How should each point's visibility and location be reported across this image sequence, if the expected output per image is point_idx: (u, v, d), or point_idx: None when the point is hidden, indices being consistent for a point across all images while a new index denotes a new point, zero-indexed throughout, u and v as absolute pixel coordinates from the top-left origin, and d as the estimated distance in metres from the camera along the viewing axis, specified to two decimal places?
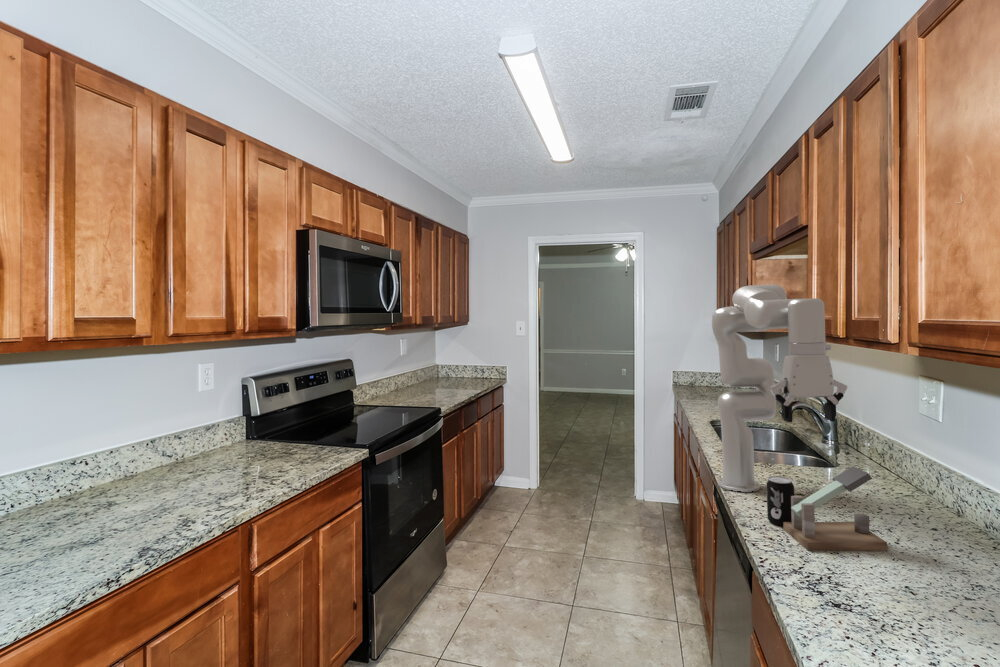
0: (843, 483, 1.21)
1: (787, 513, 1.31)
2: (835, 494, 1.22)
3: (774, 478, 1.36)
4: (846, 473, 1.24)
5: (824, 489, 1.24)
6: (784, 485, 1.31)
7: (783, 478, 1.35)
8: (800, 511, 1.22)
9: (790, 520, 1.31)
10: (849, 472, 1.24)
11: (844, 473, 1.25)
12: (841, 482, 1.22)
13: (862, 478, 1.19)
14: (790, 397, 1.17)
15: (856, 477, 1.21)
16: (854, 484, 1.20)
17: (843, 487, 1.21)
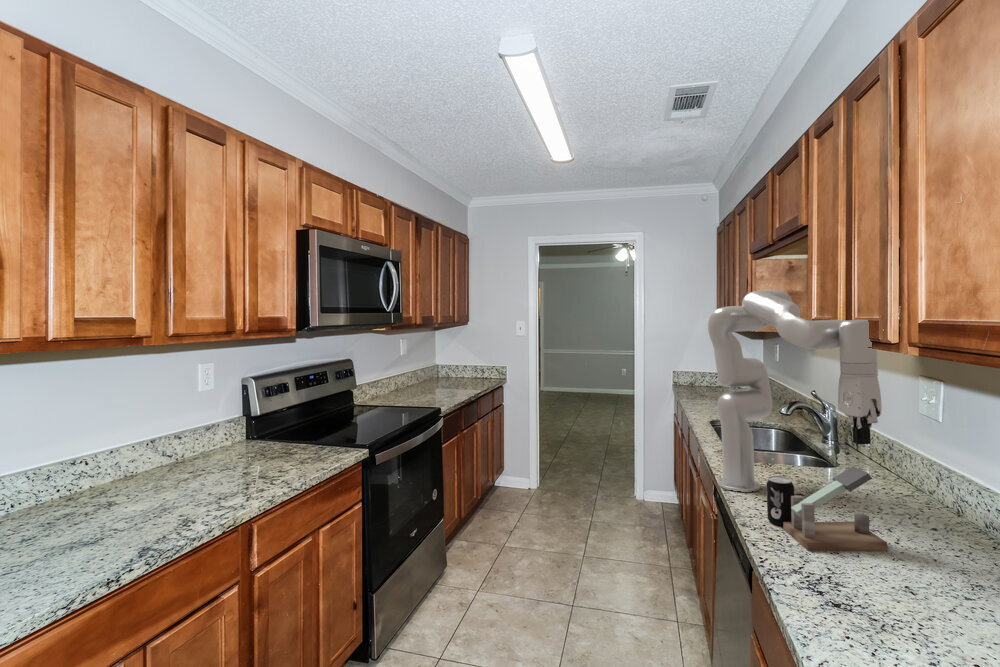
0: (843, 483, 1.21)
1: (787, 513, 1.31)
2: (835, 494, 1.22)
3: (774, 478, 1.36)
4: (846, 473, 1.24)
5: (824, 489, 1.24)
6: (784, 485, 1.31)
7: (783, 478, 1.35)
8: (800, 511, 1.22)
9: (790, 520, 1.31)
10: (849, 472, 1.24)
11: (844, 473, 1.25)
12: (841, 482, 1.22)
13: (862, 478, 1.19)
14: None
15: (856, 477, 1.21)
16: (854, 484, 1.20)
17: (843, 487, 1.21)
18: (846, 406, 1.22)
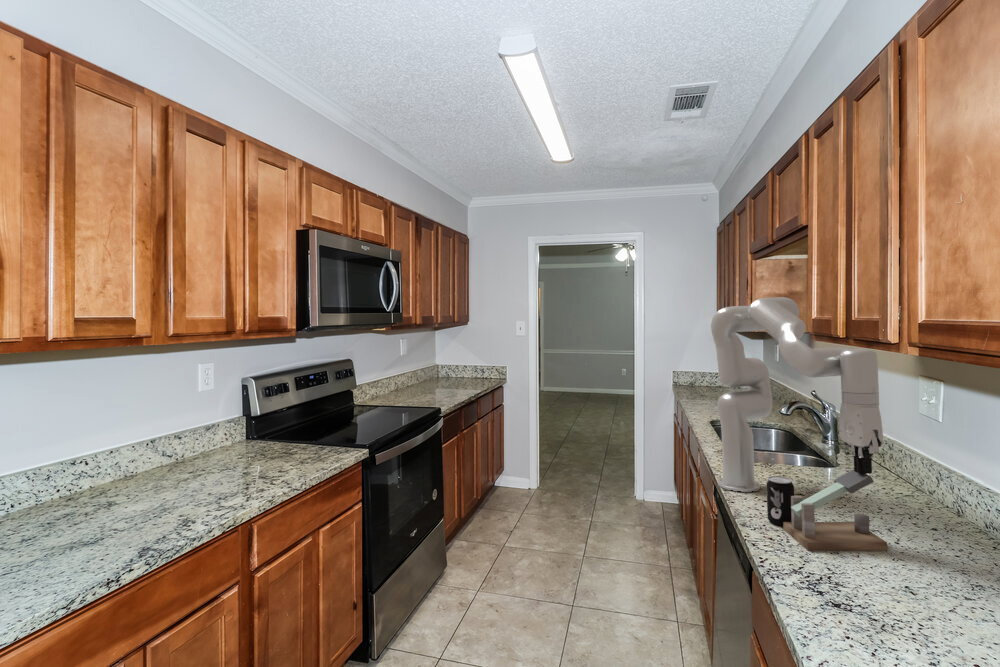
0: (844, 485, 1.21)
1: (787, 513, 1.31)
2: (836, 495, 1.21)
3: (774, 478, 1.36)
4: (848, 475, 1.24)
5: (825, 490, 1.24)
6: (784, 485, 1.31)
7: (783, 478, 1.35)
8: (800, 511, 1.22)
9: (790, 520, 1.31)
10: (851, 474, 1.24)
11: (845, 476, 1.24)
12: (842, 484, 1.22)
13: (864, 481, 1.19)
14: None
15: (857, 480, 1.20)
16: (856, 486, 1.20)
17: (844, 489, 1.21)
18: (847, 435, 1.23)
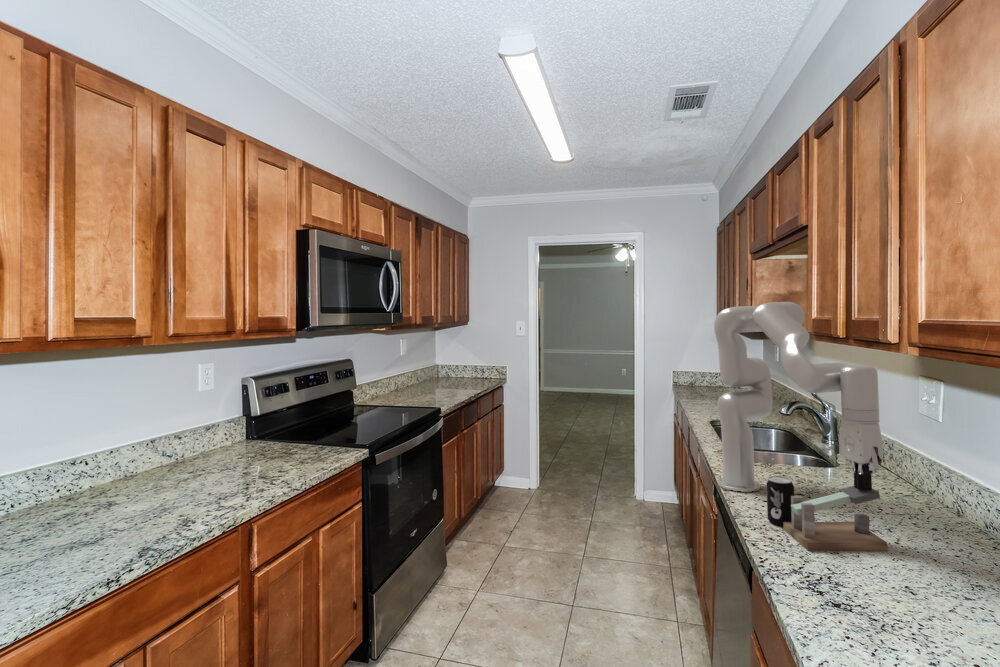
0: (850, 495, 1.21)
1: (787, 513, 1.31)
2: (839, 503, 1.21)
3: (774, 478, 1.36)
4: (855, 488, 1.24)
5: (829, 496, 1.24)
6: (784, 485, 1.31)
7: (783, 478, 1.35)
8: (800, 510, 1.22)
9: (790, 520, 1.31)
10: None
11: (852, 488, 1.24)
12: (848, 494, 1.22)
13: (871, 495, 1.19)
14: None
15: (864, 493, 1.20)
16: (861, 498, 1.20)
17: (849, 499, 1.21)
18: (847, 451, 1.23)
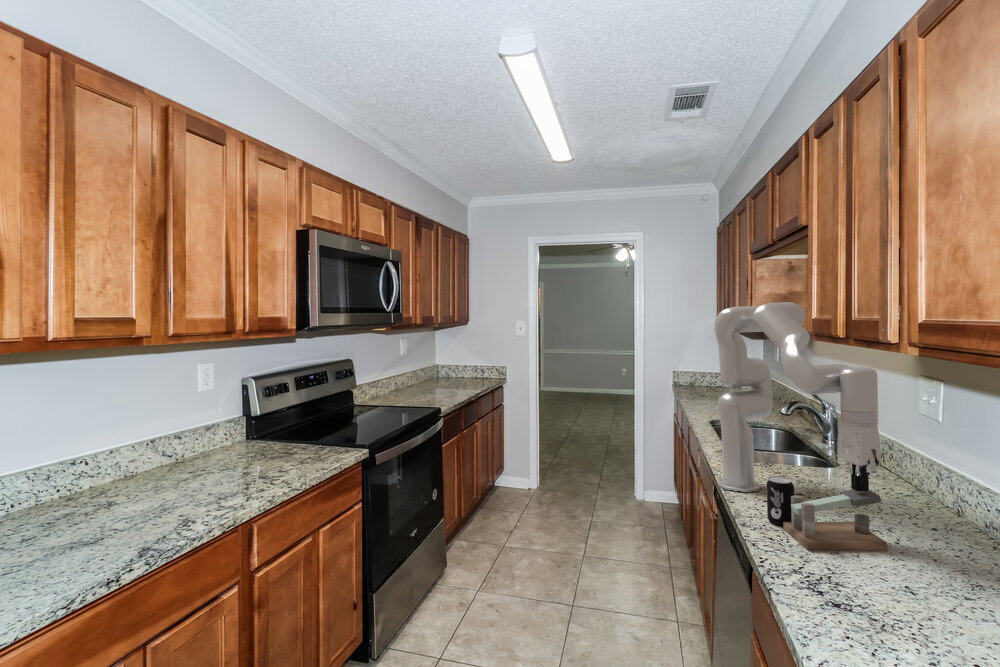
0: (851, 498, 1.21)
1: (787, 513, 1.31)
2: (839, 505, 1.21)
3: (774, 478, 1.36)
4: (856, 491, 1.24)
5: (829, 498, 1.24)
6: (784, 485, 1.31)
7: (783, 478, 1.35)
8: (800, 509, 1.22)
9: (790, 520, 1.31)
10: (859, 491, 1.24)
11: (853, 491, 1.24)
12: (849, 496, 1.22)
13: (872, 498, 1.19)
14: None
15: (865, 496, 1.20)
16: (862, 501, 1.20)
17: (849, 501, 1.21)
18: (845, 453, 1.23)
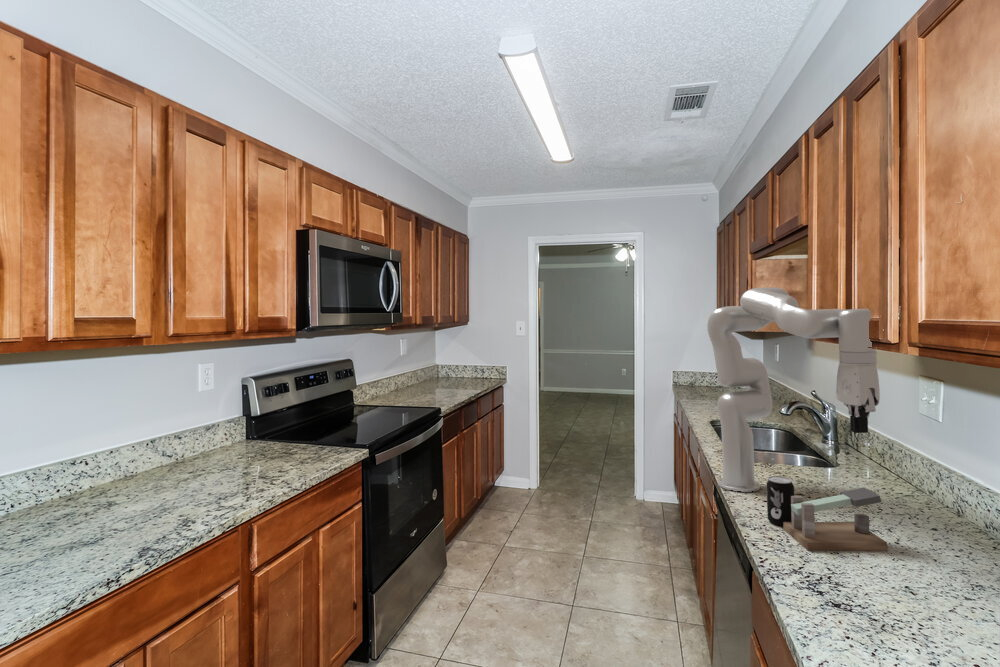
0: (851, 498, 1.21)
1: (787, 513, 1.31)
2: (839, 505, 1.21)
3: (774, 478, 1.36)
4: (856, 491, 1.24)
5: (829, 498, 1.24)
6: (784, 485, 1.31)
7: (783, 478, 1.35)
8: (800, 509, 1.22)
9: (790, 520, 1.31)
10: (859, 491, 1.24)
11: (853, 491, 1.24)
12: (849, 496, 1.22)
13: (872, 498, 1.19)
14: None
15: (865, 496, 1.20)
16: (862, 501, 1.20)
17: (849, 501, 1.21)
18: (844, 395, 1.23)
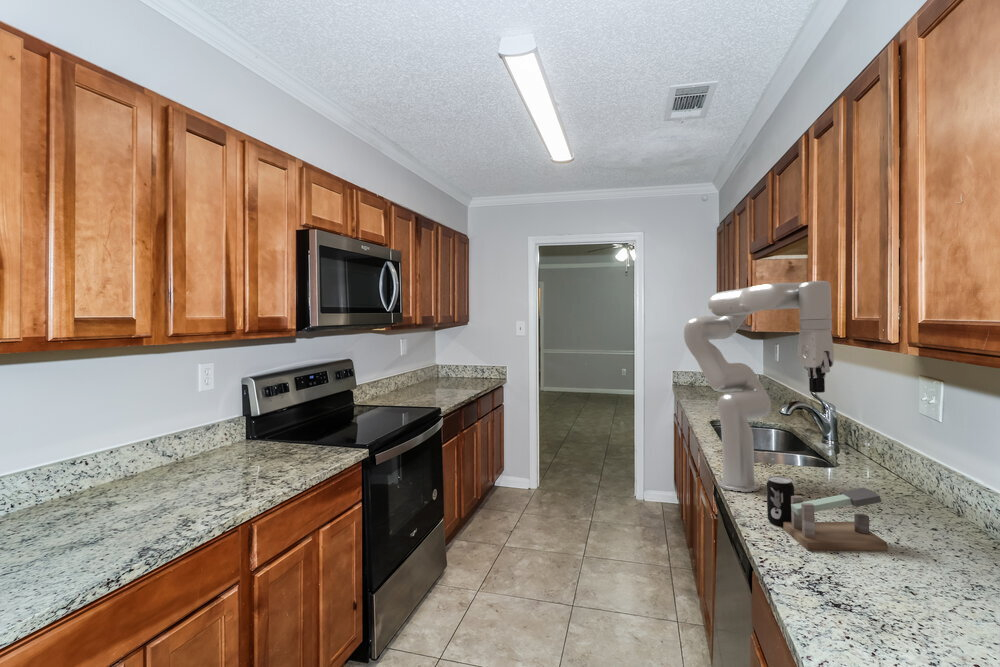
0: (851, 498, 1.21)
1: (787, 513, 1.31)
2: (839, 505, 1.21)
3: (774, 478, 1.36)
4: (856, 491, 1.24)
5: (829, 498, 1.24)
6: (784, 485, 1.31)
7: (783, 478, 1.35)
8: (800, 509, 1.22)
9: (790, 520, 1.31)
10: (859, 491, 1.24)
11: (853, 491, 1.24)
12: (849, 496, 1.22)
13: (872, 498, 1.19)
14: None
15: (865, 496, 1.20)
16: (862, 501, 1.20)
17: (849, 501, 1.21)
18: (804, 359, 1.37)
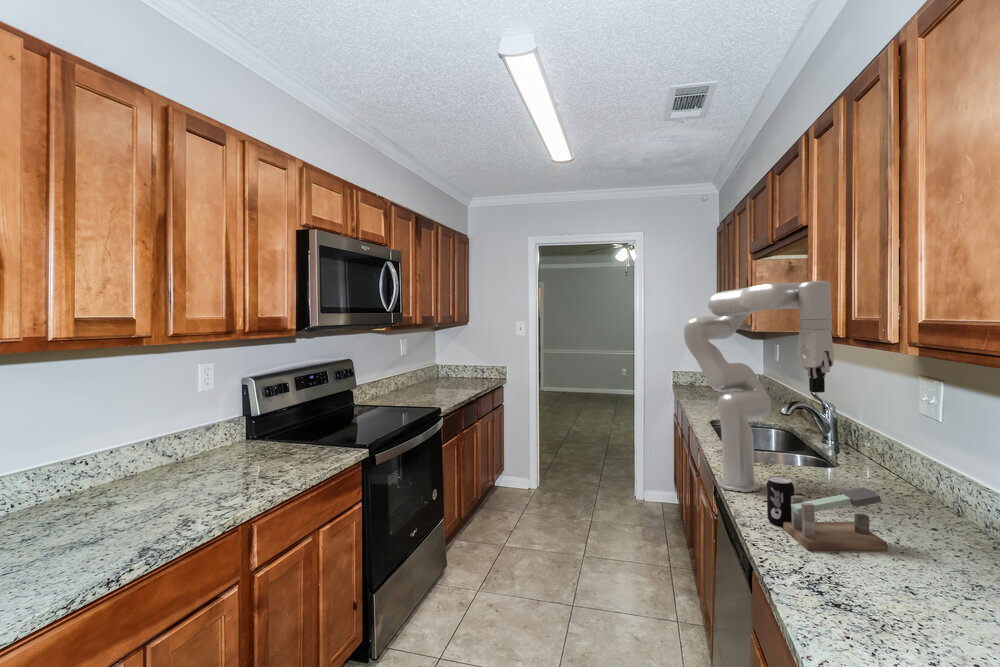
0: (851, 498, 1.21)
1: (787, 513, 1.31)
2: (839, 505, 1.21)
3: (774, 478, 1.36)
4: (856, 491, 1.24)
5: (829, 498, 1.24)
6: (784, 485, 1.31)
7: (783, 478, 1.35)
8: (800, 509, 1.22)
9: (790, 520, 1.31)
10: (859, 491, 1.24)
11: (853, 491, 1.24)
12: (849, 496, 1.22)
13: (872, 498, 1.19)
14: None
15: (865, 496, 1.20)
16: (862, 501, 1.20)
17: (849, 501, 1.21)
18: (804, 359, 1.37)
